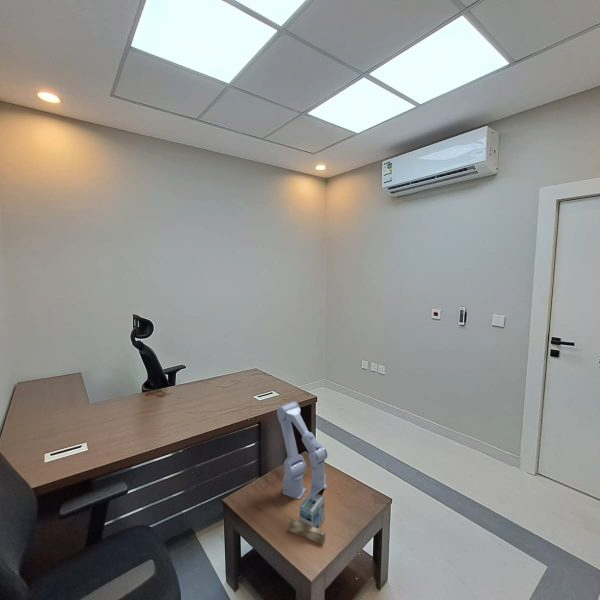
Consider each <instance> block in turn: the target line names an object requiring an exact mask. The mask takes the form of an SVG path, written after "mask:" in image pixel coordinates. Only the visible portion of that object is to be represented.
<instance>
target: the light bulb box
mask: <svg viewBox="0 0 600 600" xmlns="http://www.w3.org/2000/svg"><path fill="white" fill-rule="evenodd" d="M324 521H325V496H324V495H320V494H315V498H314V499H313V498H310V493H309V494H308V495H307V496H306V498H305V499H304V500H303V501H302V503H301V504H300V505H299V522H301V523H304V524H307V525H309V526H312V527H315V528H317V529H320V526H321V525H322V523H323V522H324Z"/></svg>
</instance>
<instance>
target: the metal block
mask: <svg viewBox="0 0 600 600" xmlns="http://www.w3.org/2000/svg"><path fill="white" fill-rule="evenodd" d="M287 530H288V531H289V532H292V533H294V534H295V535H298V536H302V537H304V538H306V539H308V540H311V541H314V542H316V543H319V544H321V545H324V544H325V542H326V531H325V530H322V529H320V528H318V529H317V528H315V527H312V526H309V525H307V524H304V523H301V522H300V520H299V521H298V520H296V519H293V518H292V517H290V518H289V519H288V521H287Z"/></svg>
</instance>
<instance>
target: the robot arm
mask: <svg viewBox="0 0 600 600" xmlns="http://www.w3.org/2000/svg"><path fill="white" fill-rule="evenodd" d="M276 413H277V419H278V422H279V424H280V426H281V431H282V435H283V439H284V445H285V450H286V454H287V457H286V459H285V460H284V462H283V464H284V465H283V466H284V475H283V480H282V494H283V495H285V496H287V497H291V498H293V499H296V500H301V499H302V497H303V495H304V493H305V492H306V490H307V488H306V487H304V475H305V472H307V463H306V462H305V459H304V456H303V455H301V454H299V451H298V447H297V442H296V438H295V434H294V429H293V425H294V426H295V428H296V429H297V430H298V432H299V433H300V435H301V441H302V443H303V445H304V447H305V448H306V450H307V452H308V453H309V454H308V458H309V459H308V460H309V461H310V465H311V485H310V492H309V494H310V498H313V499H314V498H315V494H320V495H322V496H324V495H323V494H324V492H325V491H326V489H327V487H328V484H326V479H327V474H326V472H325V468H326V467H325V465H326V464H325V463H326V460H327V458H328V452H327V450H326V448H325V447H324V446H323V445H322V444H321V443H319V442H318V440H317V439H316V436H315V435H314V434H313V432H311V431H309V430H308V427H307V426H306V423H305V421H304V419H303V417H302V415H301V408H300V405H299V404H298V403H297V401H292V402H289V403H286V404H284V405H279V406H278V407H277V409H276Z"/></svg>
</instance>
